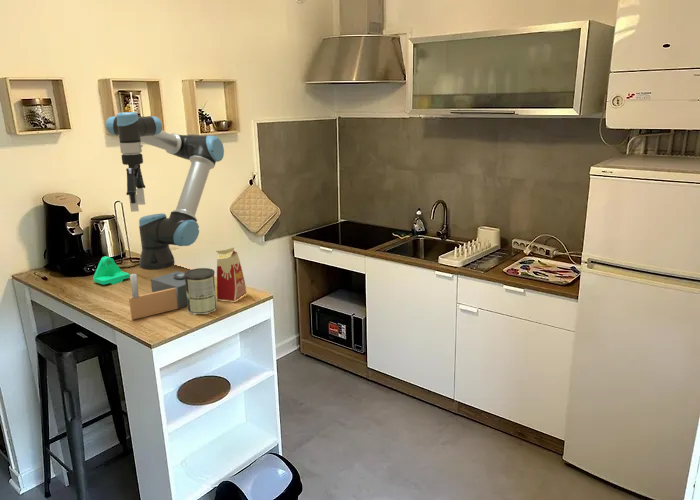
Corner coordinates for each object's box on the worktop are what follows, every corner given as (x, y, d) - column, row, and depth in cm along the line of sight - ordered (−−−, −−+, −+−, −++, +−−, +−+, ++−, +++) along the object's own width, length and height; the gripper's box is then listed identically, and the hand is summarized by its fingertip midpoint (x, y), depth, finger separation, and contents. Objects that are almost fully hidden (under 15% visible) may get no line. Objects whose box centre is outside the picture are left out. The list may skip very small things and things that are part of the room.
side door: (131, 318, 184) (126, 275, 179) (178, 306, 194) (174, 265, 189) (133, 320, 182) (127, 276, 178) (180, 308, 192) (176, 267, 188)
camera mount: (103, 287, 216) (100, 263, 213) (93, 283, 221) (90, 259, 218) (130, 279, 225) (128, 256, 223) (121, 276, 230) (118, 253, 227)
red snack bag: (247, 294, 207) (244, 244, 201) (236, 303, 198) (232, 251, 193) (225, 292, 209) (222, 243, 204) (213, 300, 201) (209, 249, 195)
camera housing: (179, 290, 212) (177, 268, 209) (206, 298, 203) (204, 275, 200) (152, 299, 203) (150, 276, 200) (179, 308, 194) (177, 284, 191)
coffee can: (181, 310, 191) (178, 273, 188) (205, 302, 199) (202, 266, 195) (199, 317, 185) (195, 278, 181) (223, 308, 193) (220, 271, 189)
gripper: (135, 156, 195) (142, 213, 201) (147, 150, 219) (153, 201, 225) (113, 157, 194) (121, 214, 200) (128, 150, 217) (134, 202, 223)
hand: (138, 207), depth 212 cm, fingers open, 13 cm apart
